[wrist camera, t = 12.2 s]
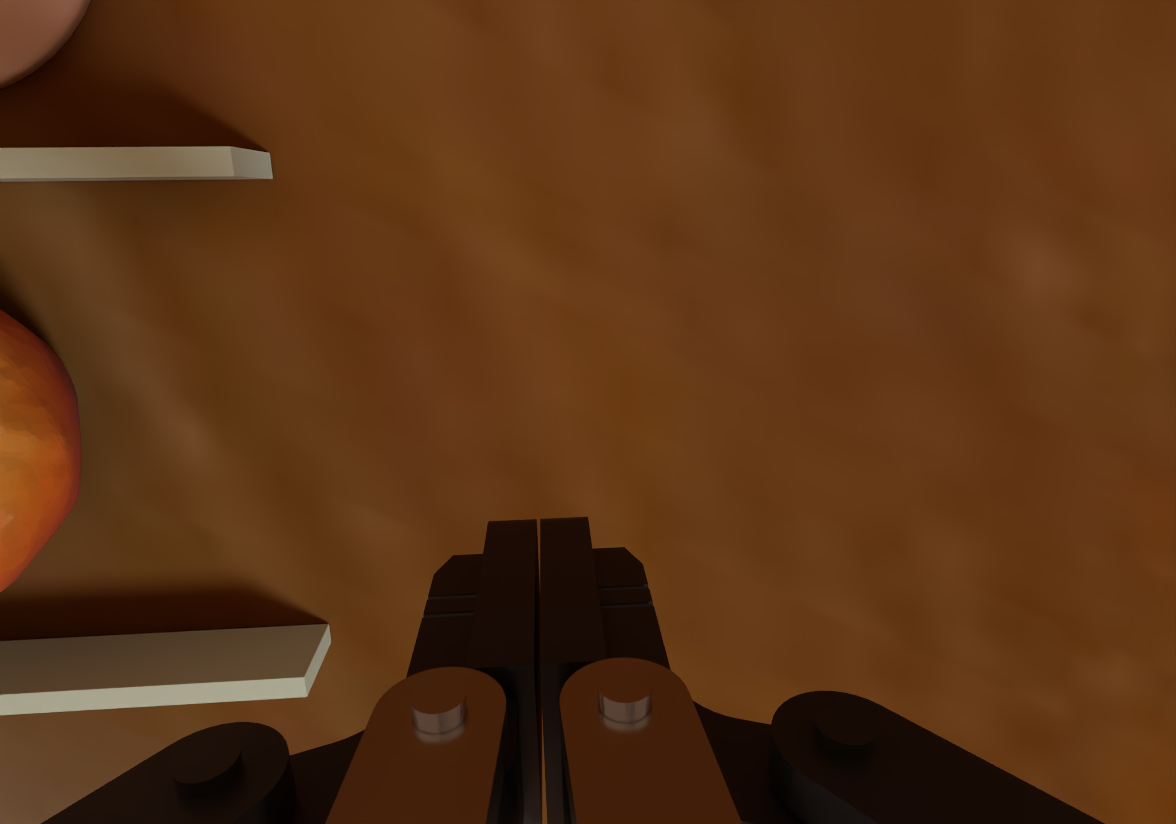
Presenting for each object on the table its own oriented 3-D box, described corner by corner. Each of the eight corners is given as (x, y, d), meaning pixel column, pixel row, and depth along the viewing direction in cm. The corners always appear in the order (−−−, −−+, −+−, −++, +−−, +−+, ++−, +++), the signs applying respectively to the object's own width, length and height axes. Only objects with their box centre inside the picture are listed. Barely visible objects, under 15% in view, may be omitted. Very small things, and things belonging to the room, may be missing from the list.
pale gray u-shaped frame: (-341, 157, 17) (-483, 151, 15) (269, 153, 18) (230, 146, 16) (-164, 668, 21) (-254, 730, 18) (331, 641, 22) (306, 696, 19)
